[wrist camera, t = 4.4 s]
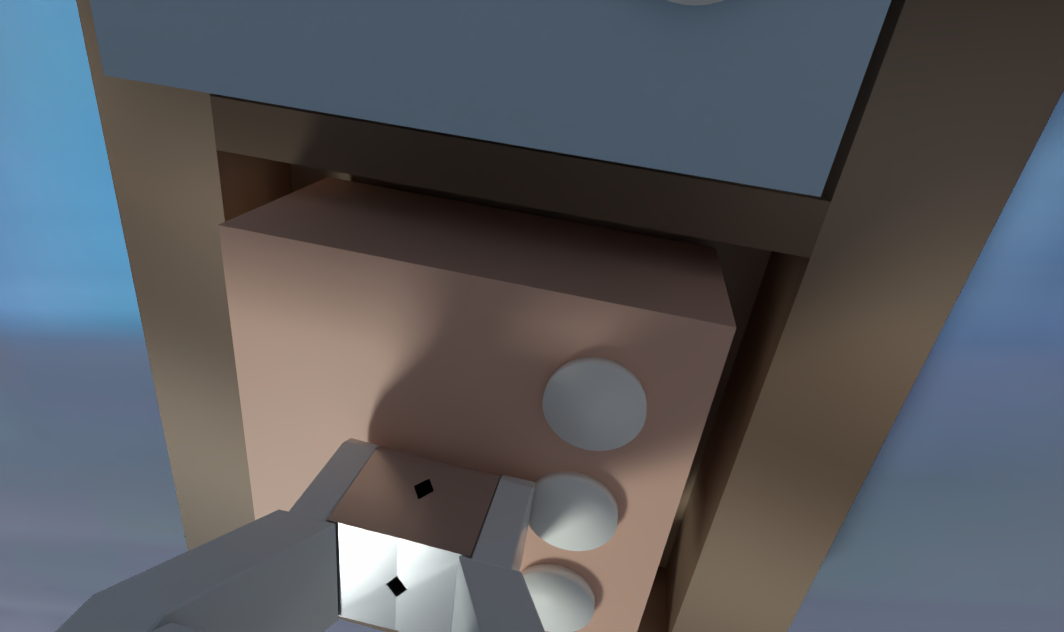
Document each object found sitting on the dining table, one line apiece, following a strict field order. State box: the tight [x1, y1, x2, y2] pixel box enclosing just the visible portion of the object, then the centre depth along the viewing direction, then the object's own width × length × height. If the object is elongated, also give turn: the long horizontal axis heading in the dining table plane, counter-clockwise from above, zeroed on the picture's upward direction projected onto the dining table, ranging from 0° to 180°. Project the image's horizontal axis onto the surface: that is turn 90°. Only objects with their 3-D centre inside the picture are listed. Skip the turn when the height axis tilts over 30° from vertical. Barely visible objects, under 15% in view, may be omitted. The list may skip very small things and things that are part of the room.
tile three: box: [218, 177, 736, 632], centre depth 10 cm, size 7×7×3 cm
